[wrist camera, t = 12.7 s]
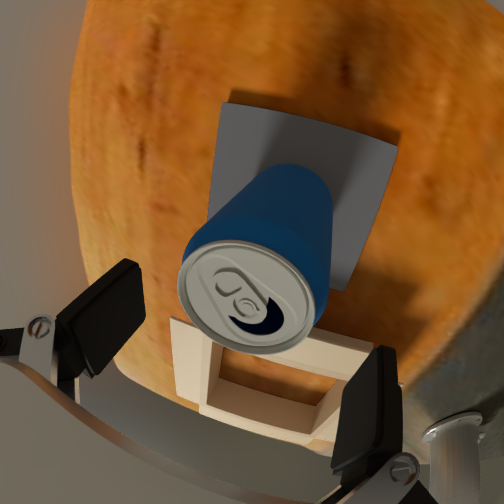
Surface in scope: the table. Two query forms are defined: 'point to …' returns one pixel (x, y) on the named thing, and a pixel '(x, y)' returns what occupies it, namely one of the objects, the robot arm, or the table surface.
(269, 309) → the beverage can
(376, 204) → the mat
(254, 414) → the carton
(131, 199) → the table surface
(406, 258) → the table surface
